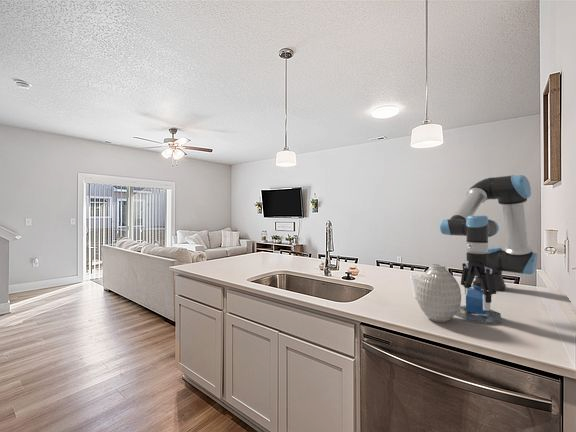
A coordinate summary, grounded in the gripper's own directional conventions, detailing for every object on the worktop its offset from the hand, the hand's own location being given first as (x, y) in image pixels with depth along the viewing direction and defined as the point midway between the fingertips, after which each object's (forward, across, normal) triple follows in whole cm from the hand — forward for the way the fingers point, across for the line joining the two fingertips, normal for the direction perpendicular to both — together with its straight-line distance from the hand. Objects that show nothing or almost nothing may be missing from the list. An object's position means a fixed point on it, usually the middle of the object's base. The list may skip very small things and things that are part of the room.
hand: (477, 306), depth 117 cm
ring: (+4, 0, 0) cm, 4 cm away
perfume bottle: (+2, 0, 0) cm, 2 cm away
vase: (+4, 0, -18) cm, 19 cm away
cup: (+5, -27, -8) cm, 29 cm away
